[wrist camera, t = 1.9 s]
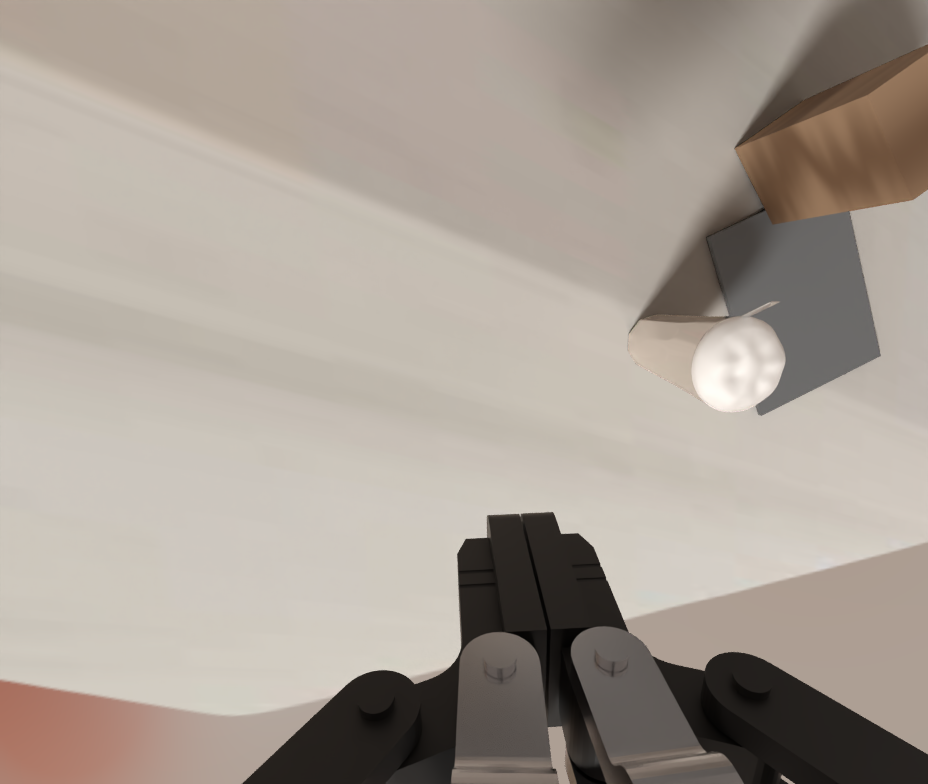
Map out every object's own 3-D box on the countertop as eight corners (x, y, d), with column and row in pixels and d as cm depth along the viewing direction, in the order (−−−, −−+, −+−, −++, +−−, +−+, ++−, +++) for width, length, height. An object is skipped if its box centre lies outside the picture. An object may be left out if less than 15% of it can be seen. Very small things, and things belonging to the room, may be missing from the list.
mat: (706, 237, 34) (709, 237, 33) (837, 175, 34) (841, 175, 34) (758, 414, 37) (761, 415, 37) (876, 355, 38) (880, 355, 37)
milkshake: (691, 289, 34) (823, 301, 25) (682, 377, 35) (805, 421, 26) (620, 289, 33) (727, 301, 24) (613, 379, 35) (713, 425, 25)
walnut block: (734, 148, 33) (867, 94, 24) (804, 99, 33) (961, 28, 24) (772, 224, 34) (912, 200, 25) (839, 177, 34) (1002, 136, 25)
